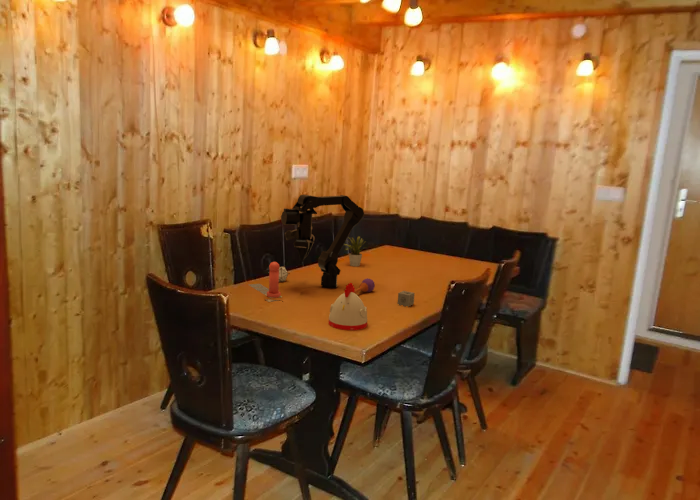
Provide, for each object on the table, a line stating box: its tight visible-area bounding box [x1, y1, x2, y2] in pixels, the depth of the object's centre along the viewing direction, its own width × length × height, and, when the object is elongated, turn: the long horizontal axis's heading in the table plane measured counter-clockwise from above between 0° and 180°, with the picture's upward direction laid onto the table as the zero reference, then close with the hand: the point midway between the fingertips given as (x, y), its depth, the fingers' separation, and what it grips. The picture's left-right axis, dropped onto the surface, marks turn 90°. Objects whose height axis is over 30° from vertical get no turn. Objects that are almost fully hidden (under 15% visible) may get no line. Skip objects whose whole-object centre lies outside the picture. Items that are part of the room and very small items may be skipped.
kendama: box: [354, 278, 376, 295], centre depth 244 cm, size 6×6×20 cm
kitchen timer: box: [328, 282, 368, 331], centre depth 201 cm, size 14×14×15 cm
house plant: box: [343, 235, 368, 267], centre depth 304 cm, size 14×14×16 cm
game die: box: [279, 265, 291, 283], centre depth 256 cm, size 9×8×10 cm
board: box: [248, 283, 283, 303], centre depth 238 cm, size 27×9×1 cm, turn 32°
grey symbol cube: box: [397, 290, 415, 308], centre depth 232 cm, size 5×5×5 cm
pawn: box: [266, 261, 282, 299], centre depth 229 cm, size 6×6×14 cm
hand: (303, 259), depth 245 cm, fingers open, 9 cm apart
